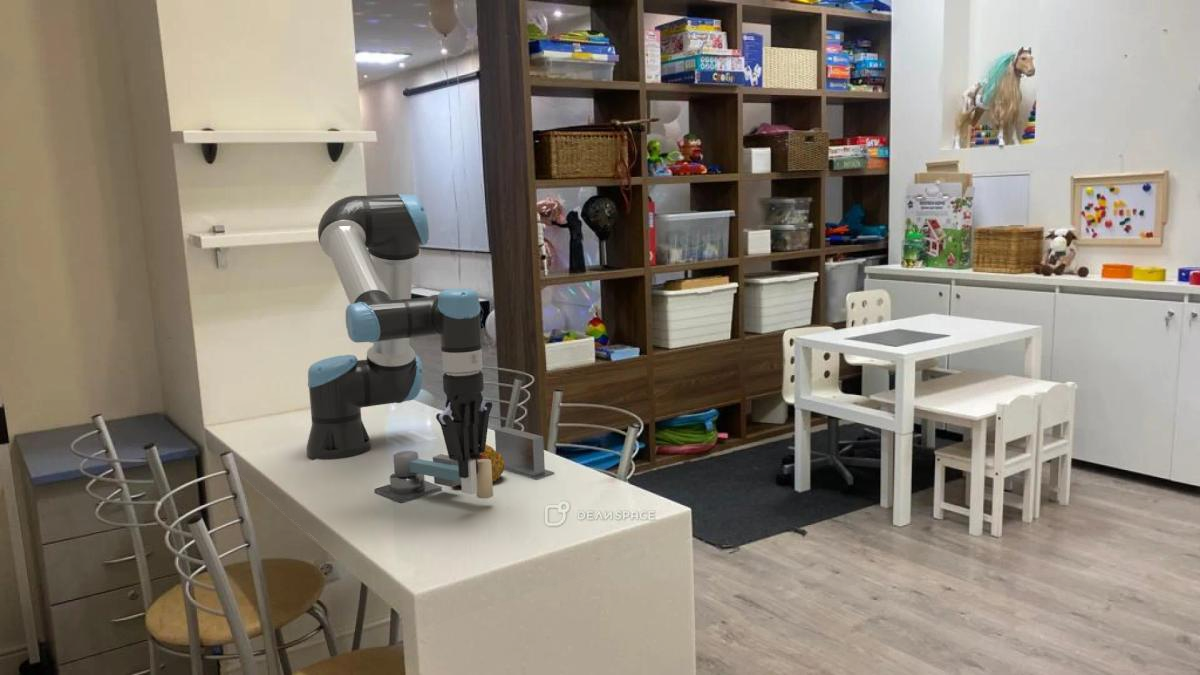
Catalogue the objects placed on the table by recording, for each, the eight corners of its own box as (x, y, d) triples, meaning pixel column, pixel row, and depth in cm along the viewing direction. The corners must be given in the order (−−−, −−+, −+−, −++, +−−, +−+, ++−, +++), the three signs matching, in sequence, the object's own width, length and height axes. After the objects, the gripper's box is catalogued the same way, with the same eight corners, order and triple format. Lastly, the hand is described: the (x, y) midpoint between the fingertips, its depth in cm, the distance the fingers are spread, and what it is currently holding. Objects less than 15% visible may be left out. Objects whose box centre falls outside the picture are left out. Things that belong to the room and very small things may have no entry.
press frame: (374, 492, 185) (371, 450, 184) (494, 457, 207) (492, 420, 206) (431, 516, 170) (428, 471, 169) (554, 475, 192) (552, 435, 191)
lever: (390, 482, 184) (387, 449, 183) (411, 473, 189) (408, 441, 188) (482, 501, 170) (480, 466, 169) (502, 492, 175) (501, 457, 174)
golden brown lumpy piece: (483, 506, 185) (444, 480, 183) (477, 501, 193) (439, 475, 191) (513, 462, 187) (475, 435, 185) (506, 458, 195) (469, 432, 193)
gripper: (451, 380, 159) (459, 505, 162) (501, 367, 169) (506, 486, 173) (423, 376, 163) (430, 498, 167) (472, 364, 173) (478, 479, 177)
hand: (469, 492), depth 170 cm, fingers closed
